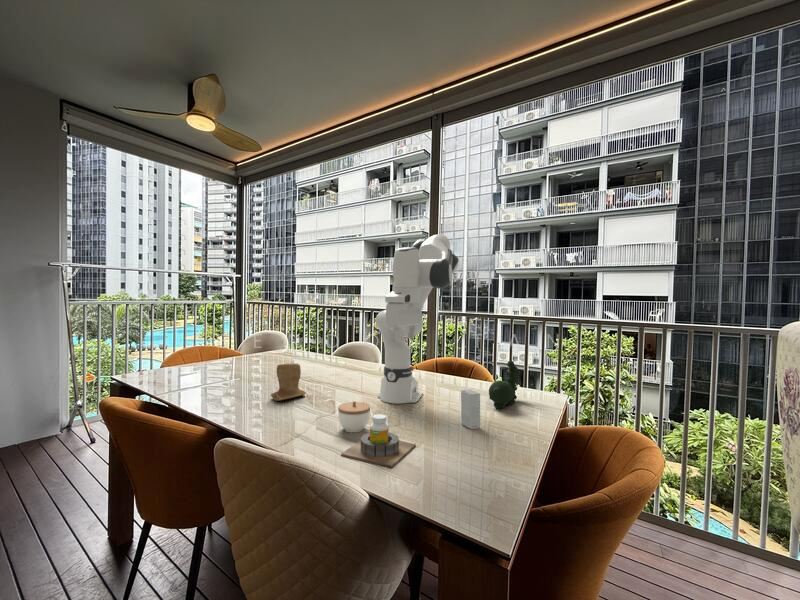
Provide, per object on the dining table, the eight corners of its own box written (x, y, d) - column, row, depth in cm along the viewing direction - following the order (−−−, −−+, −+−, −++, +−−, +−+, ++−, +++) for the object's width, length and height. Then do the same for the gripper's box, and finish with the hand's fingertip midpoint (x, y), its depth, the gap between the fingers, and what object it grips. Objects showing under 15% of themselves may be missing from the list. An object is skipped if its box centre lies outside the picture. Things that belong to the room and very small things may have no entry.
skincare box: (480, 428, 129) (481, 393, 129) (470, 430, 127) (471, 394, 127) (470, 422, 135) (470, 389, 134) (459, 424, 133) (460, 390, 132)
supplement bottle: (369, 453, 105) (369, 419, 105) (370, 445, 111) (370, 413, 111) (388, 453, 106) (388, 419, 105) (388, 445, 111) (388, 413, 111)
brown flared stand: (292, 391, 172) (293, 359, 171) (309, 396, 165) (310, 362, 164) (263, 398, 159) (263, 363, 159) (280, 404, 152) (280, 367, 152)
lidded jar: (343, 437, 119) (344, 408, 118) (333, 426, 128) (334, 399, 128) (374, 432, 124) (375, 403, 123) (362, 422, 133) (363, 395, 133)
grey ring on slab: (369, 436, 120) (370, 425, 120) (415, 446, 113) (415, 434, 113) (341, 455, 105) (341, 442, 105) (391, 468, 98) (391, 454, 98)
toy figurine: (501, 400, 169) (481, 409, 148) (503, 358, 170) (484, 361, 149) (522, 404, 164) (505, 414, 143) (524, 361, 165) (507, 364, 144)
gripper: (410, 296, 131) (409, 336, 131) (382, 296, 113) (381, 342, 113) (426, 297, 128) (425, 337, 129) (401, 297, 110) (400, 344, 110)
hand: (405, 339), depth 121 cm, fingers open, 8 cm apart
